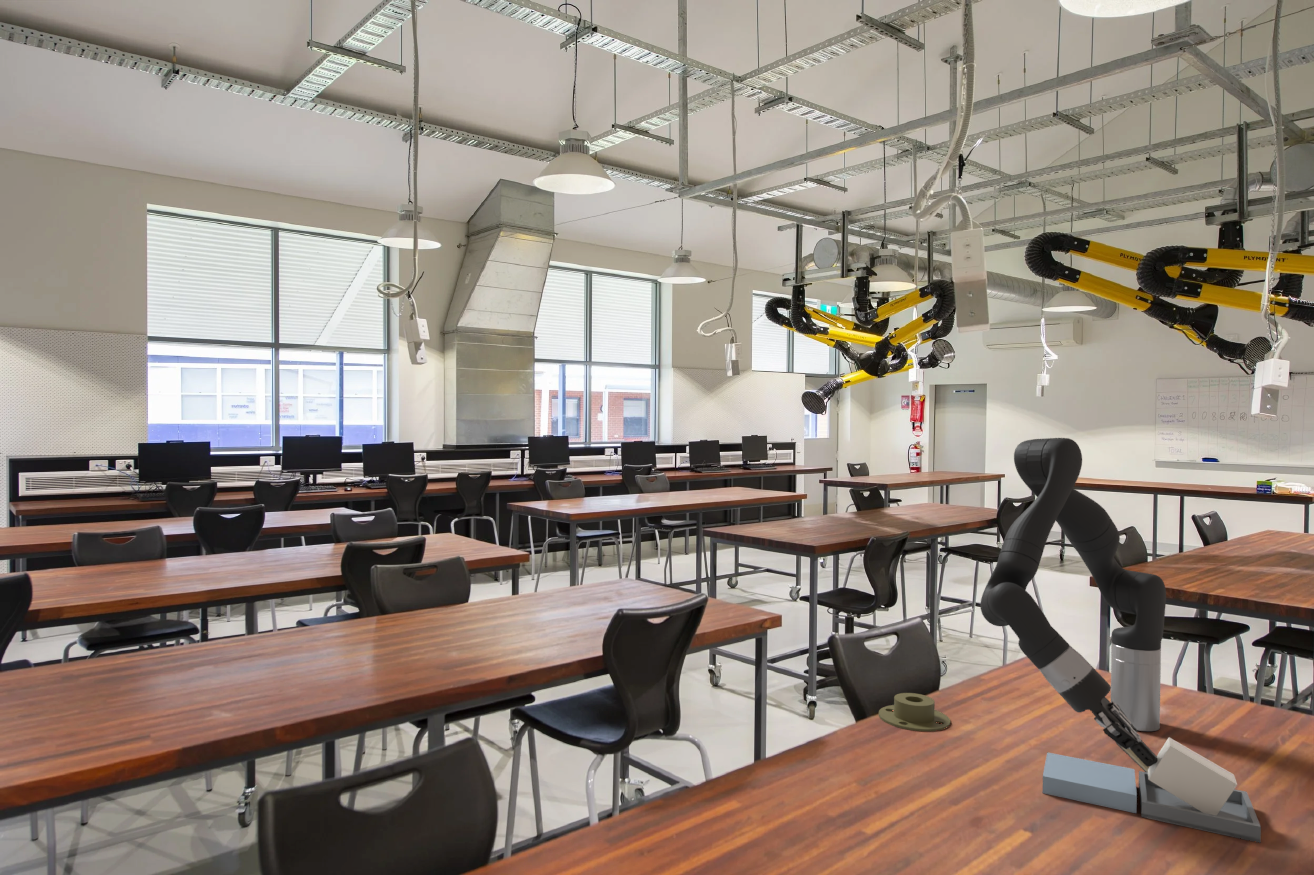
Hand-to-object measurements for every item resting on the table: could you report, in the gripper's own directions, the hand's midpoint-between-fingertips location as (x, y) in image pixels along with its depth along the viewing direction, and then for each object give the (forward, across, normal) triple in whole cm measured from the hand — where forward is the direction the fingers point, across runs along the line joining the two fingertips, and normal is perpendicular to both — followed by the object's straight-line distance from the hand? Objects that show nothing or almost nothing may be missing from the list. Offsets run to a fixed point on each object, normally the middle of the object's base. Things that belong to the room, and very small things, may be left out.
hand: (1153, 762), depth 133 cm
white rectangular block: (+6, 0, 0) cm, 6 cm away
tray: (+9, 0, 0) cm, 9 cm away
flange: (-25, +20, +36) cm, 49 cm away
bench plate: (-2, 0, +12) cm, 12 cm away
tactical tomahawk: (+4, +21, +6) cm, 23 cm away
